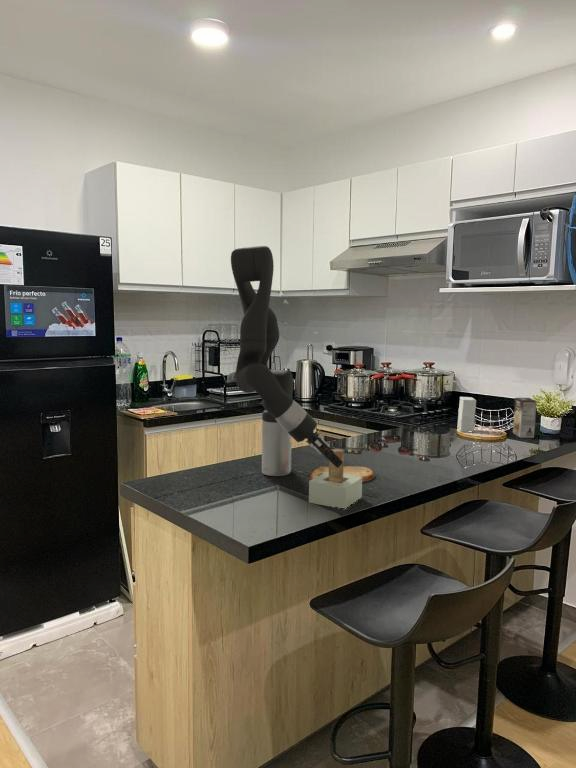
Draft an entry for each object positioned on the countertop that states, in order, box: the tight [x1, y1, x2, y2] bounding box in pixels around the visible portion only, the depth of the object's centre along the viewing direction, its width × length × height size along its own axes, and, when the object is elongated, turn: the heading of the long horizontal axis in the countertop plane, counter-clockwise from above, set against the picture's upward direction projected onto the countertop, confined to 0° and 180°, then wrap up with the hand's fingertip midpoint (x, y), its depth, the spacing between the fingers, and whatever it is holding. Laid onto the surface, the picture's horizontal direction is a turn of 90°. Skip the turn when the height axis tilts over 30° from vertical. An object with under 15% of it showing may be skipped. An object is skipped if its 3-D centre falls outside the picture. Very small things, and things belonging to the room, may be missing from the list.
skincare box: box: [456, 396, 477, 433], centre depth 258 cm, size 8×6×15 cm
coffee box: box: [512, 397, 537, 439], centre depth 249 cm, size 9×6×16 cm
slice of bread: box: [309, 465, 375, 483], centre depth 181 cm, size 18×18×4 cm
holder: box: [308, 472, 363, 510], centre depth 159 cm, size 11×11×6 cm
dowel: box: [328, 448, 345, 483], centre depth 158 cm, size 4×4×14 cm
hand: (335, 461), depth 158 cm, fingers open, 8 cm apart
